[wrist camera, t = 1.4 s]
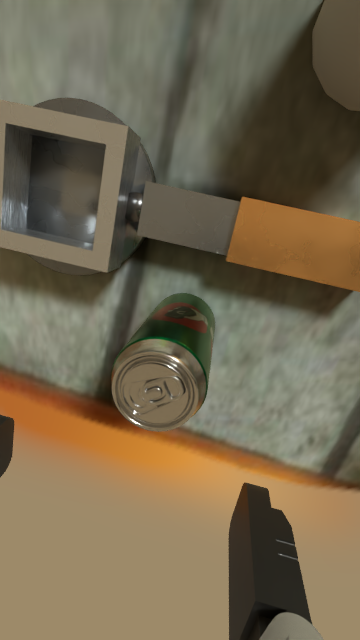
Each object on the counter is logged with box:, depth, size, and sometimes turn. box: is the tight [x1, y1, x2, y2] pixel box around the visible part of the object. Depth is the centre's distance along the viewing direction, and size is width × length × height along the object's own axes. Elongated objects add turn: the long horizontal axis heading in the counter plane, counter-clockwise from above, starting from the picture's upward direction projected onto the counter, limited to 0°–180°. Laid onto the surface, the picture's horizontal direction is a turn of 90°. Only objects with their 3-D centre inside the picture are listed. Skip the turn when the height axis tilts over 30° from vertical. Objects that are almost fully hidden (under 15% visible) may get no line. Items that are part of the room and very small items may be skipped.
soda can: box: [111, 293, 215, 432], centre depth 22 cm, size 5×5×12 cm
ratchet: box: [0, 98, 360, 292], centre depth 23 cm, size 28×12×4 cm, turn 78°
